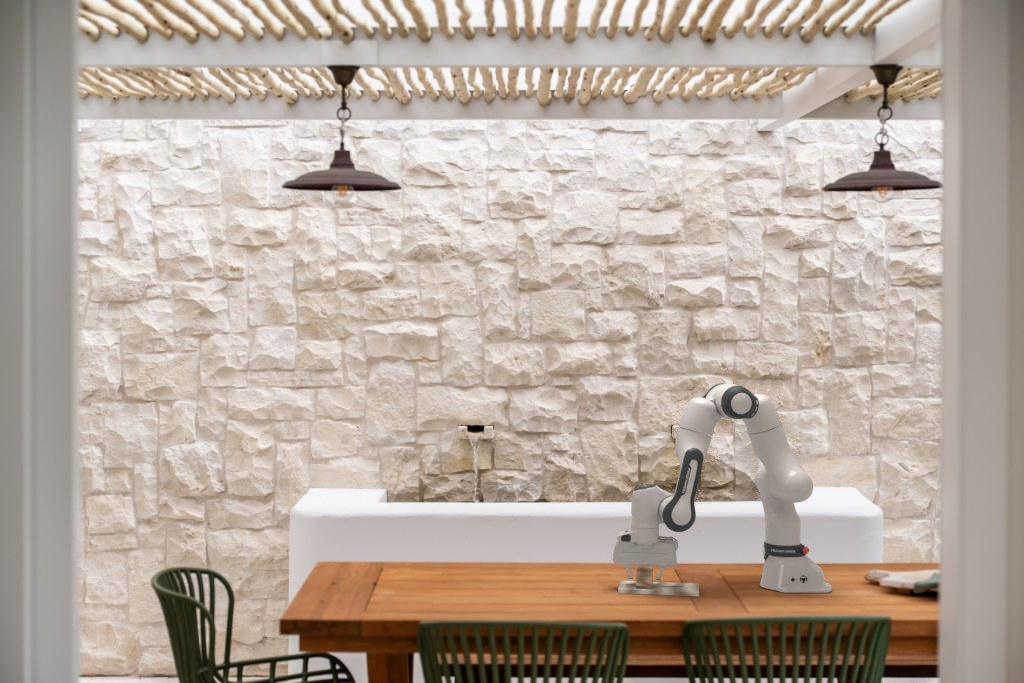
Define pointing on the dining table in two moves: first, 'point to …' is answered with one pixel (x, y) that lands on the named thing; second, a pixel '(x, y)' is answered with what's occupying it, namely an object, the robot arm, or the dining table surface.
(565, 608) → the dining table surface
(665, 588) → the plank
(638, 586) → the beige brown jar
